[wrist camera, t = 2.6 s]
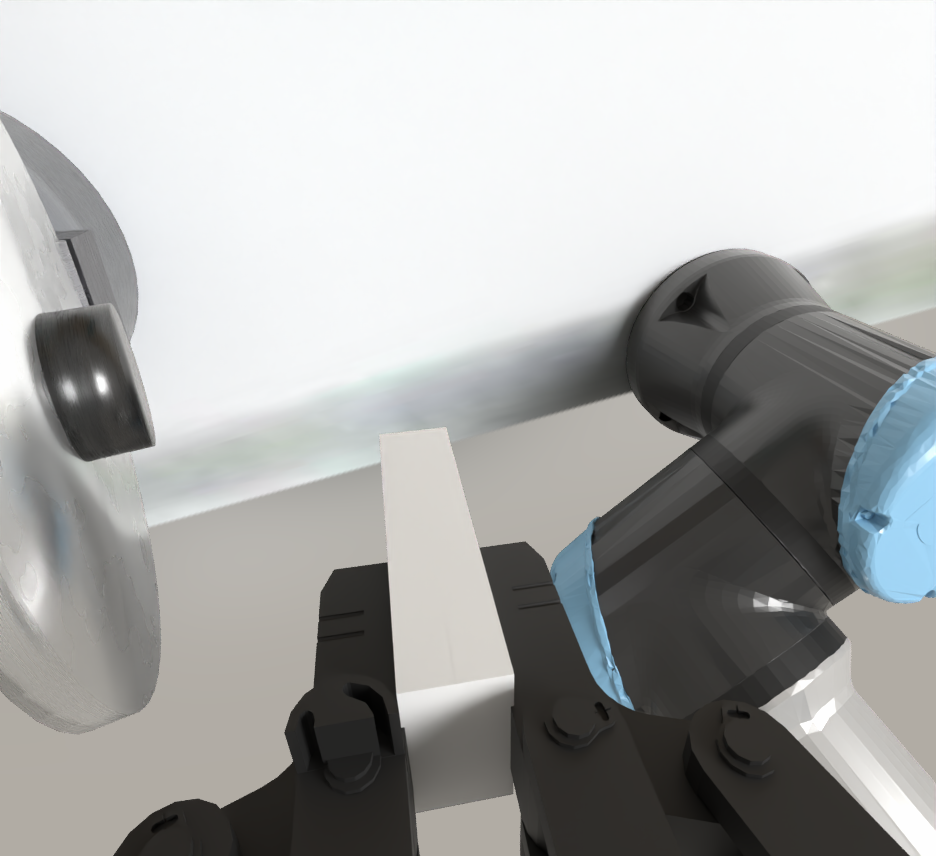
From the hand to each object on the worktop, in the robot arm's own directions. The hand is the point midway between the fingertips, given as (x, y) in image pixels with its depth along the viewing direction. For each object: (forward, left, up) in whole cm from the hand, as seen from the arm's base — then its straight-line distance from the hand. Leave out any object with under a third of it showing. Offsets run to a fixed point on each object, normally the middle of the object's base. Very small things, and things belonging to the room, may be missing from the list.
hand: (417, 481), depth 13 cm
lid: (+12, 0, -8) cm, 15 cm away
